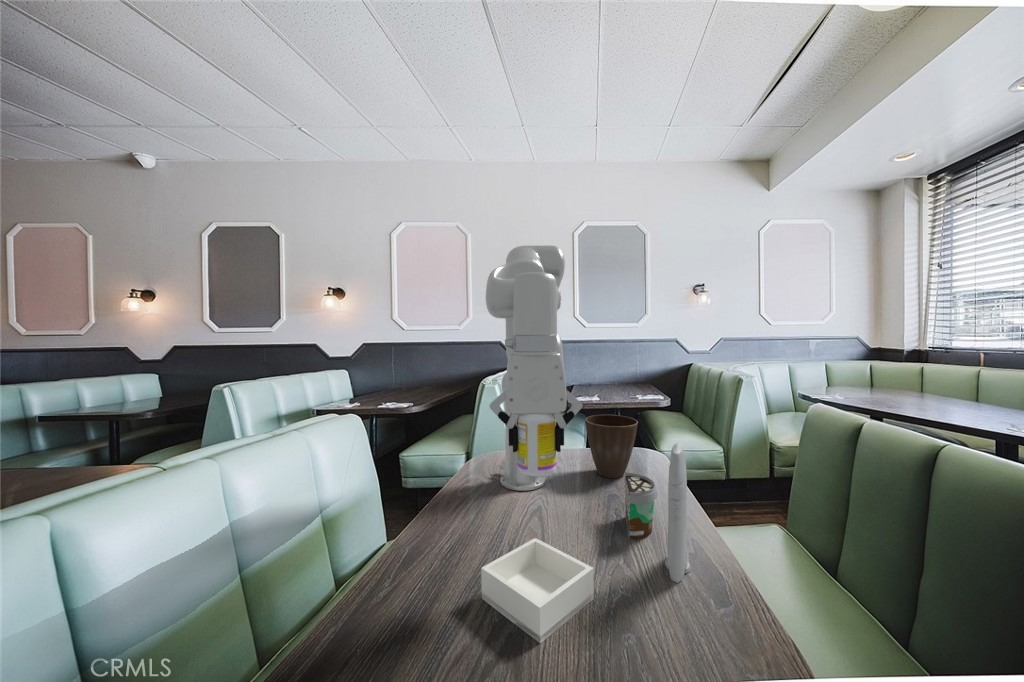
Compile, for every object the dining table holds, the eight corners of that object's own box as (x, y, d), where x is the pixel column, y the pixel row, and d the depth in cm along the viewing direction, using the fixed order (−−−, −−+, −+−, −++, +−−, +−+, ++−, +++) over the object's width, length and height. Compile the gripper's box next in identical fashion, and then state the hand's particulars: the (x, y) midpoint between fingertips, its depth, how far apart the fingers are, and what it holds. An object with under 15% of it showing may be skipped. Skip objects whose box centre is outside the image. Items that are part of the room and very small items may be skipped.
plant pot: (620, 462, 125) (620, 413, 124) (648, 480, 110) (648, 423, 110) (577, 467, 121) (576, 416, 120) (600, 486, 106) (600, 428, 106)
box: (481, 598, 62) (481, 567, 62) (535, 564, 71) (535, 537, 71) (540, 643, 53) (539, 607, 53) (593, 598, 62) (593, 568, 62)
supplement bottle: (559, 466, 69) (559, 394, 69) (551, 479, 63) (550, 400, 63) (523, 462, 71) (523, 392, 71) (511, 474, 65) (511, 398, 65)
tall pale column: (668, 549, 76) (668, 436, 75) (691, 554, 74) (691, 439, 73) (661, 580, 66) (662, 452, 66) (688, 587, 64) (688, 455, 64)
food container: (662, 545, 77) (662, 495, 77) (630, 542, 78) (630, 493, 78) (653, 516, 89) (653, 473, 89) (625, 514, 90) (624, 471, 90)
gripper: (482, 347, 63) (483, 457, 64) (590, 346, 63) (591, 456, 63) (486, 345, 71) (487, 444, 71) (582, 344, 70) (583, 443, 71)
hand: (536, 448), depth 67 cm, fingers closed on supplement bottle, 6 cm apart
